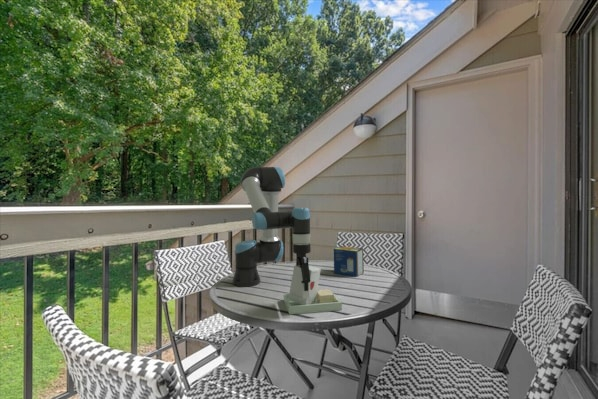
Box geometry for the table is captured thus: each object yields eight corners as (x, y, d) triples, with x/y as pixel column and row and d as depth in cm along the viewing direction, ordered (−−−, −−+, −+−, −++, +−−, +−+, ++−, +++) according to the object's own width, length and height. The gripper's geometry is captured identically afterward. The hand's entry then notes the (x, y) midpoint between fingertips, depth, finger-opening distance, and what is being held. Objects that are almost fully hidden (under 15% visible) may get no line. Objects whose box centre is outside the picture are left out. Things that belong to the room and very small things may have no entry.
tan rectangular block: (315, 301, 140) (315, 290, 140) (328, 300, 141) (328, 289, 141) (320, 307, 132) (320, 295, 132) (334, 306, 133) (333, 294, 133)
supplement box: (305, 306, 128) (311, 270, 129) (287, 300, 133) (293, 265, 133) (316, 302, 136) (321, 268, 136) (298, 296, 141) (304, 263, 141)
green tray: (283, 302, 142) (283, 293, 142) (330, 298, 146) (330, 290, 146) (289, 316, 125) (289, 306, 125) (341, 312, 129) (341, 302, 129)
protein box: (341, 270, 200) (341, 246, 200) (363, 273, 191) (363, 248, 191) (333, 273, 192) (333, 248, 192) (356, 277, 183) (356, 250, 183)
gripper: (317, 247, 123) (318, 301, 123) (304, 239, 147) (305, 284, 147) (298, 248, 122) (299, 303, 122) (288, 240, 146) (289, 286, 146)
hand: (302, 293), depth 135 cm, fingers closed on supplement box, 12 cm apart
